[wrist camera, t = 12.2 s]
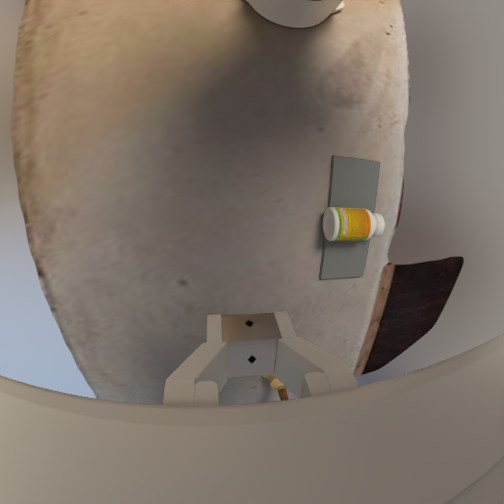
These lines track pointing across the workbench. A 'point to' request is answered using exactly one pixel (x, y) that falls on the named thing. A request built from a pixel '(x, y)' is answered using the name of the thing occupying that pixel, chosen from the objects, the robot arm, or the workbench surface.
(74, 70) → the workbench surface
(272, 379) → the hand bell
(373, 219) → the supplement bottle
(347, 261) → the mat
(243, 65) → the workbench surface
